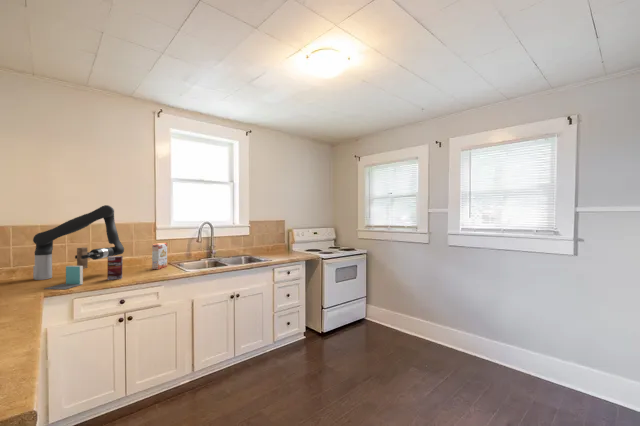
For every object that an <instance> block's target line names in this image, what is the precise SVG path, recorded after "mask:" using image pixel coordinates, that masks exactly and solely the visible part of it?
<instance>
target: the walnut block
mask: <svg viewBox="0 0 640 426" xmlns="http://www.w3.org/2000/svg"><path fill="white" fill-rule="evenodd" d="M87 252H88V247H87V246H86V247H83V246H82V247H76V255H77V259H76V266H83V270H85V269H87V268H88V267H89V265H88V264H89V263H88V261H89V260H88V259H89V258H85V259H81V256H82V255H87Z"/></svg>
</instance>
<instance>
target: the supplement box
mask: <svg viewBox="0 0 640 426" xmlns="http://www.w3.org/2000/svg"><path fill="white" fill-rule="evenodd" d="M106 275H107V276H106V277H107V281H109V280H110V281H111V280H122V279H123V255H115V256H109V257H107V274H106Z"/></svg>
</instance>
